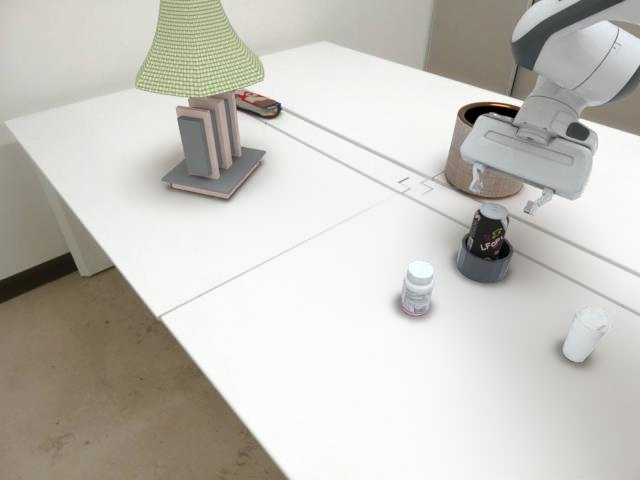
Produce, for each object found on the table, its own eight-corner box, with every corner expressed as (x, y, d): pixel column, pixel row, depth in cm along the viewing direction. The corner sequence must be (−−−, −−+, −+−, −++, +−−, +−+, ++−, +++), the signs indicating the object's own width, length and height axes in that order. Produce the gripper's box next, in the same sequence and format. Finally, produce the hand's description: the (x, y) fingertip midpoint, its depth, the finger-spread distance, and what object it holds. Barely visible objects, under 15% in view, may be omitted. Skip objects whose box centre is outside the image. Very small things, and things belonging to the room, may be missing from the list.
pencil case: (251, 96, 147) (250, 80, 144) (287, 115, 136) (286, 99, 133) (221, 104, 142) (219, 88, 139) (256, 125, 130) (254, 109, 127)
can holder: (512, 262, 85) (519, 241, 82) (497, 290, 79) (504, 269, 76) (466, 245, 89) (472, 224, 86) (449, 270, 83) (454, 249, 80)
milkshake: (561, 367, 67) (586, 322, 61) (555, 339, 71) (578, 294, 65) (594, 373, 66) (623, 328, 60) (586, 344, 70) (613, 299, 64)
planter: (429, 171, 111) (440, 109, 101) (484, 155, 117) (499, 95, 107) (480, 208, 99) (498, 142, 89) (538, 188, 105) (561, 124, 95)
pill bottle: (406, 291, 79) (412, 255, 74) (432, 302, 77) (441, 265, 72) (395, 309, 76) (401, 272, 71) (422, 320, 74) (430, 283, 69)
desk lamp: (247, 216, 96) (222, 7, 71) (134, 192, 103) (75, -6, 78) (292, 159, 115) (285, -21, 90) (194, 142, 122) (162, -30, 97)
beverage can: (500, 263, 84) (518, 209, 76) (484, 278, 81) (501, 224, 73) (472, 248, 87) (487, 196, 80) (456, 262, 84) (470, 209, 76)
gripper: (479, 100, 77) (439, 173, 77) (609, 138, 66) (561, 221, 67) (485, 117, 82) (448, 185, 83) (606, 154, 71) (562, 232, 72)
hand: (499, 202), depth 75 cm, fingers open, 8 cm apart
